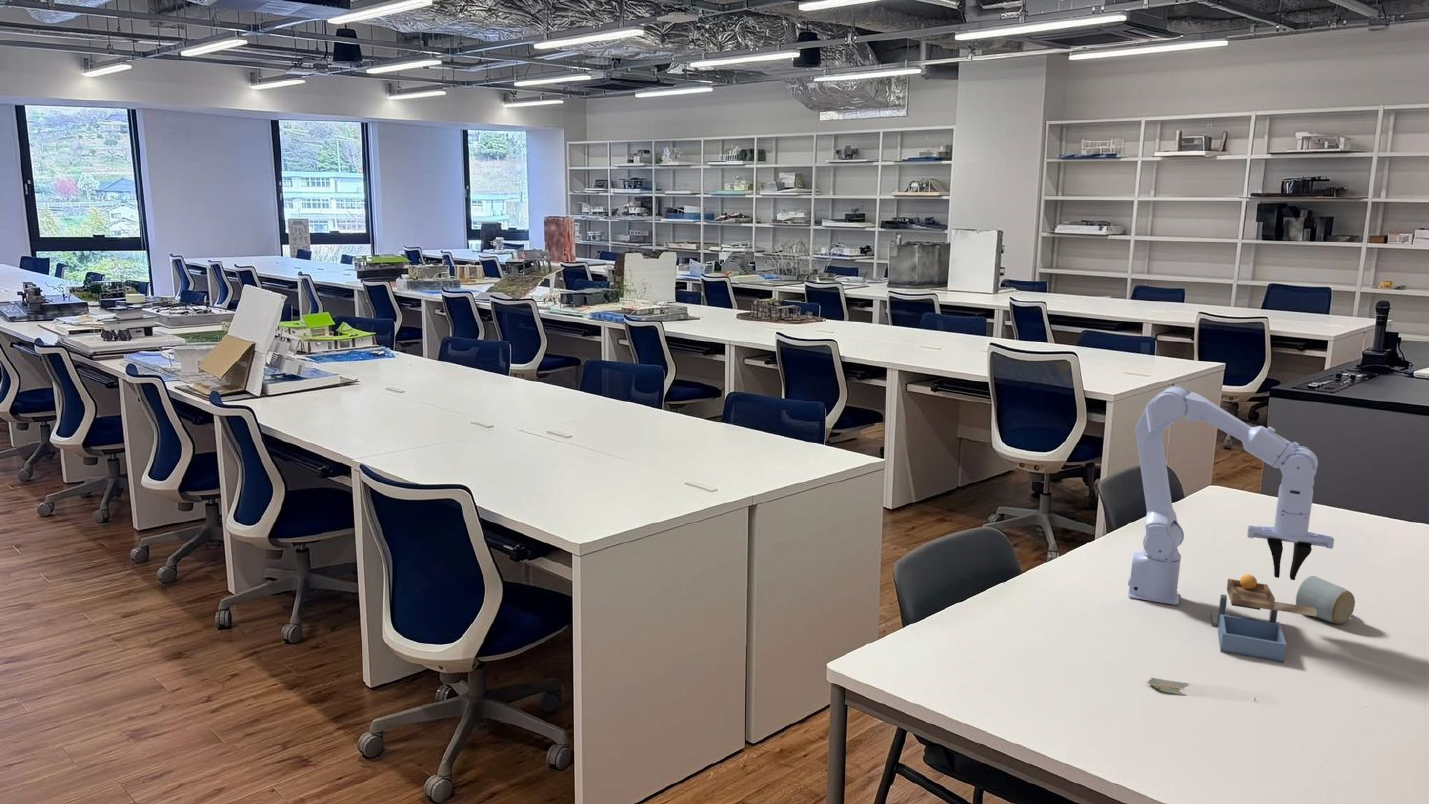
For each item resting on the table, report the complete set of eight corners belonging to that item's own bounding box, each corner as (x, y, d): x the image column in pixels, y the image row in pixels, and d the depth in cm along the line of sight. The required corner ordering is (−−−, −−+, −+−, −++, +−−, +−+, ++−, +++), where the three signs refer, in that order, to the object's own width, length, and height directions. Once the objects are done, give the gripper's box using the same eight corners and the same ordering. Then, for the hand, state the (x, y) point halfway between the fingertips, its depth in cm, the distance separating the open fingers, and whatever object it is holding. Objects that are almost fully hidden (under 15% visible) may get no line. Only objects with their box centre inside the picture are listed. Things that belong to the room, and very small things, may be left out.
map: (1143, 680, 173) (1143, 675, 173) (1271, 693, 170) (1272, 688, 170) (1150, 693, 168) (1150, 688, 168) (1282, 707, 165) (1283, 702, 165)
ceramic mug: (1333, 628, 197) (1339, 591, 195) (1292, 614, 203) (1297, 577, 202) (1363, 620, 202) (1369, 583, 200) (1322, 605, 209) (1328, 570, 207)
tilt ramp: (1230, 616, 191) (1233, 592, 191) (1225, 601, 204) (1227, 578, 203) (1315, 630, 185) (1318, 605, 185) (1304, 613, 198) (1307, 590, 198)
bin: (1220, 651, 185) (1222, 633, 184) (1217, 631, 194) (1220, 614, 193) (1283, 662, 181) (1286, 644, 180) (1278, 641, 190) (1280, 623, 189)
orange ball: (1239, 589, 199) (1241, 573, 199) (1238, 587, 202) (1240, 572, 202) (1256, 591, 198) (1258, 576, 198) (1255, 589, 201) (1256, 574, 201)
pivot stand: (1212, 625, 197) (1215, 600, 196) (1211, 615, 202) (1214, 590, 201) (1282, 637, 192) (1285, 611, 191) (1279, 626, 197) (1282, 600, 196)
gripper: (1252, 510, 194) (1244, 577, 196) (1340, 521, 188) (1330, 590, 191) (1250, 501, 200) (1241, 566, 203) (1334, 511, 195) (1324, 578, 197)
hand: (1284, 577), depth 197 cm, fingers closed
